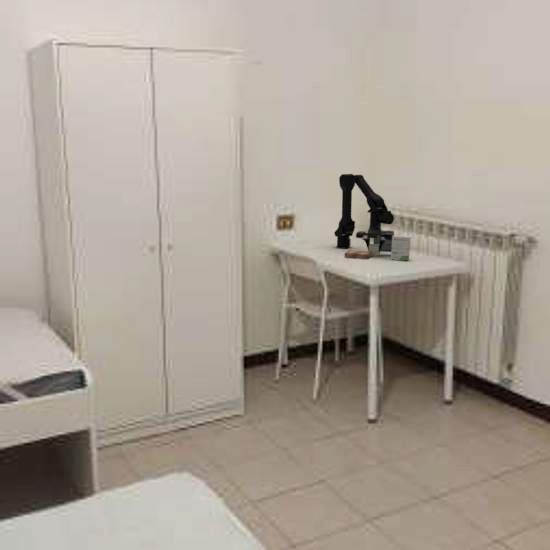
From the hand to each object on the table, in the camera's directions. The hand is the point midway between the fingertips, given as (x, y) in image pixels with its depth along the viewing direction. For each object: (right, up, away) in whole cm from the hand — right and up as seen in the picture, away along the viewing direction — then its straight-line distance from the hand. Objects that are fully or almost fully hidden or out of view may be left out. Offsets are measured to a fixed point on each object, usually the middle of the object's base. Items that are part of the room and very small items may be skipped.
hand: (374, 252), depth 366 cm
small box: (+7, +1, +13) cm, 14 cm away
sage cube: (0, -1, 0) cm, 1 cm away
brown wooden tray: (-9, -3, -7) cm, 12 cm away
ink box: (+11, -4, -13) cm, 18 cm away
